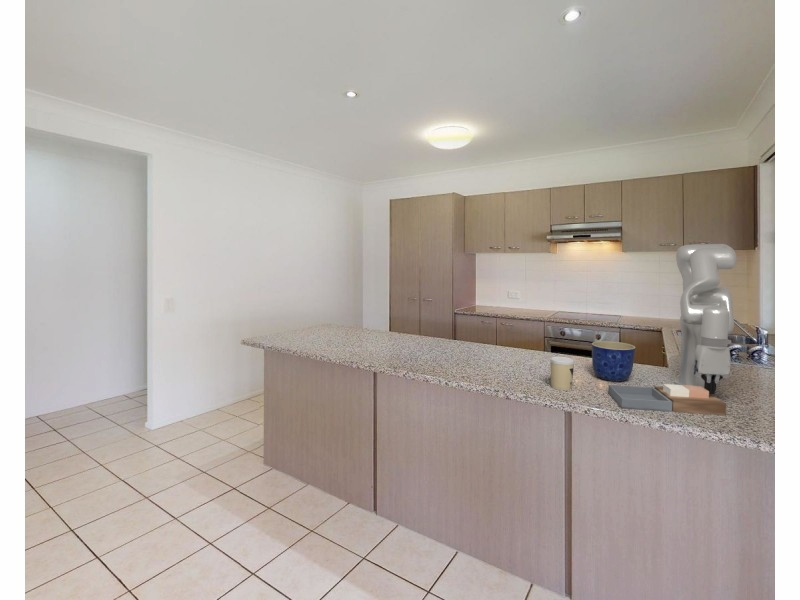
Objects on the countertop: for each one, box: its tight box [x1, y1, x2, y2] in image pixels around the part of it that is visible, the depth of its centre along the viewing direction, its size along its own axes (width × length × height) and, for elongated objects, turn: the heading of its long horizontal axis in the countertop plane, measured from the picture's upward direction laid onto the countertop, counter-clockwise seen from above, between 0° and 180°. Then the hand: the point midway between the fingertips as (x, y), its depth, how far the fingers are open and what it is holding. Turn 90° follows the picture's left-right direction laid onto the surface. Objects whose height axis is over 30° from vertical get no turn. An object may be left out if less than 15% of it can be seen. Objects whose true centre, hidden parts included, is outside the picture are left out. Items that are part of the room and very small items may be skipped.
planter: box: [591, 340, 636, 382], centre depth 177 cm, size 17×17×15 cm
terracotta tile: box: [682, 385, 709, 398], centre depth 145 cm, size 6×6×2 cm
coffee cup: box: [549, 356, 575, 391], centre depth 166 cm, size 9×9×12 cm
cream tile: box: [662, 383, 690, 397], centre depth 146 cm, size 6×6×2 cm
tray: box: [607, 384, 672, 412], centre depth 149 cm, size 16×16×4 cm
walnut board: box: [653, 385, 727, 416], centre depth 145 cm, size 16×16×4 cm
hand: (709, 392), depth 144 cm, fingers closed
